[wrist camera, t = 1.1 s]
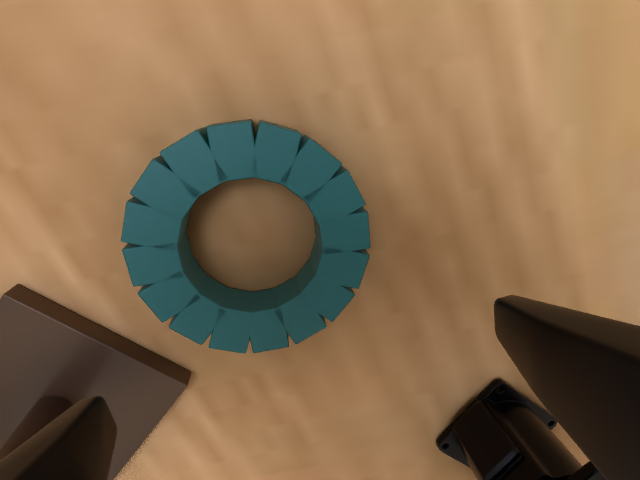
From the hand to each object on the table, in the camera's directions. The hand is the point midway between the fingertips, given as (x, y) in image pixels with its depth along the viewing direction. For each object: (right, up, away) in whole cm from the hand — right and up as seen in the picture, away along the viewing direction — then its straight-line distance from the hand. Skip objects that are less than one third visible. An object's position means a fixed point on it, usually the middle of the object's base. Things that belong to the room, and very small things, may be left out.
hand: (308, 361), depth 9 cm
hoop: (-3, +3, +12) cm, 13 cm away
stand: (-14, -6, +13) cm, 20 cm away
